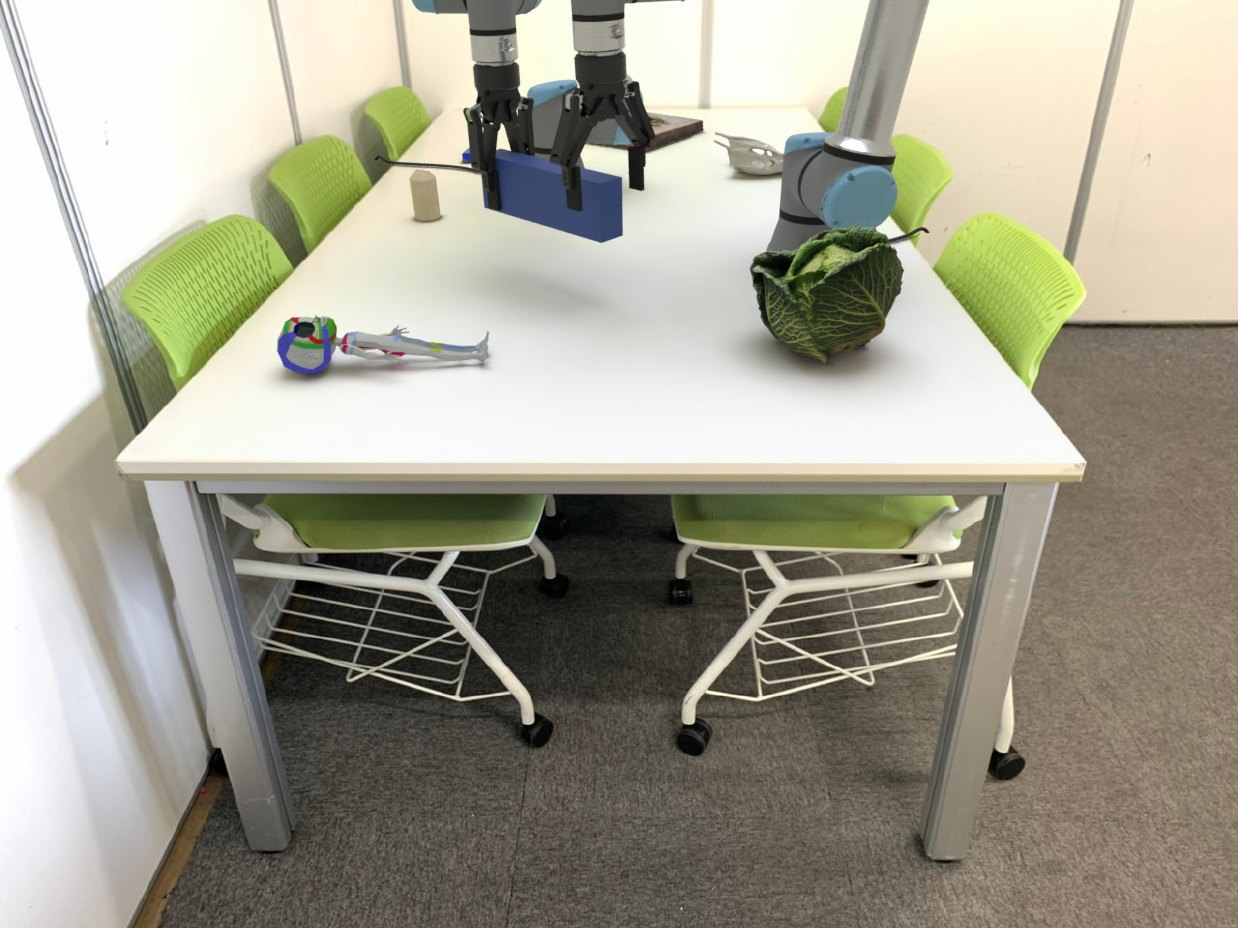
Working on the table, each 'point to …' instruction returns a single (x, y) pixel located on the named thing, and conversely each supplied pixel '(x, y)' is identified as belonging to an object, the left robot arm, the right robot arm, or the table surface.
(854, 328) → the vegetable
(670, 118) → the plaque
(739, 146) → the anatomical model
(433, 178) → the candle
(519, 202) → the bar
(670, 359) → the table surface
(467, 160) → the pillar
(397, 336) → the toy
